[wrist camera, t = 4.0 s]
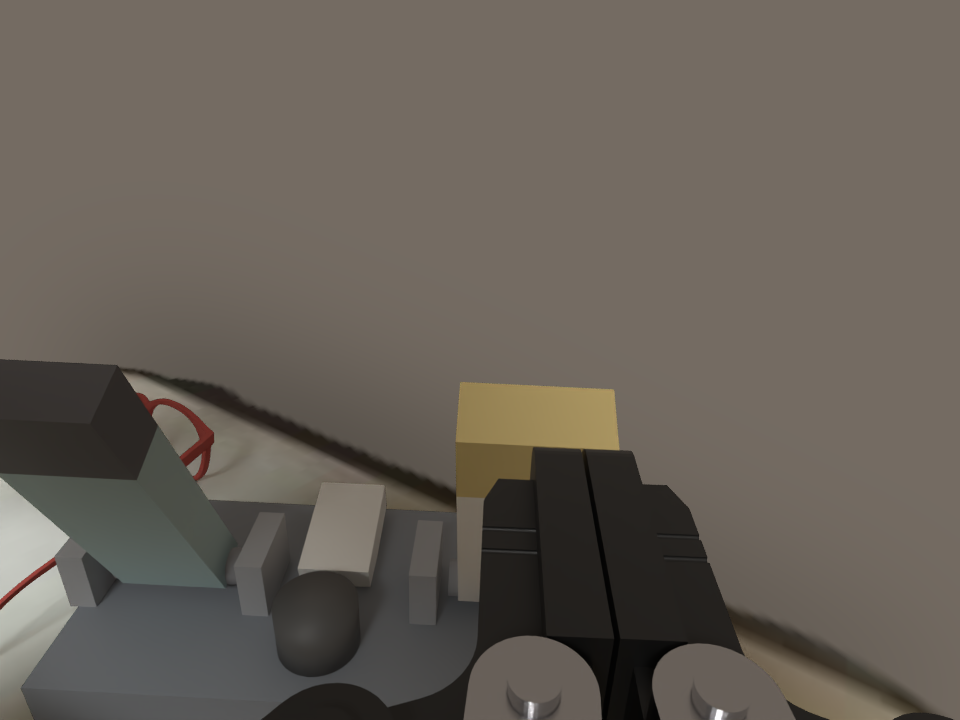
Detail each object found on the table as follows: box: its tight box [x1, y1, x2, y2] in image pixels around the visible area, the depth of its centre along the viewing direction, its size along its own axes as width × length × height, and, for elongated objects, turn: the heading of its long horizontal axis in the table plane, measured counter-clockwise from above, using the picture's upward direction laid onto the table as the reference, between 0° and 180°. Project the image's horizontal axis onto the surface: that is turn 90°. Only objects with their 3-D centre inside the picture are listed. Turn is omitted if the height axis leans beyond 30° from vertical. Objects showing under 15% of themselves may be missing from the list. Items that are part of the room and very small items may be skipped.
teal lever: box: [0, 359, 242, 588], centre depth 22 cm, size 5×2×13 cm, turn 88°
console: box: [21, 482, 479, 720], centre depth 28 cm, size 21×10×8 cm, turn 88°
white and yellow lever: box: [448, 382, 619, 602], centre depth 22 cm, size 5×2×13 cm, turn 88°
